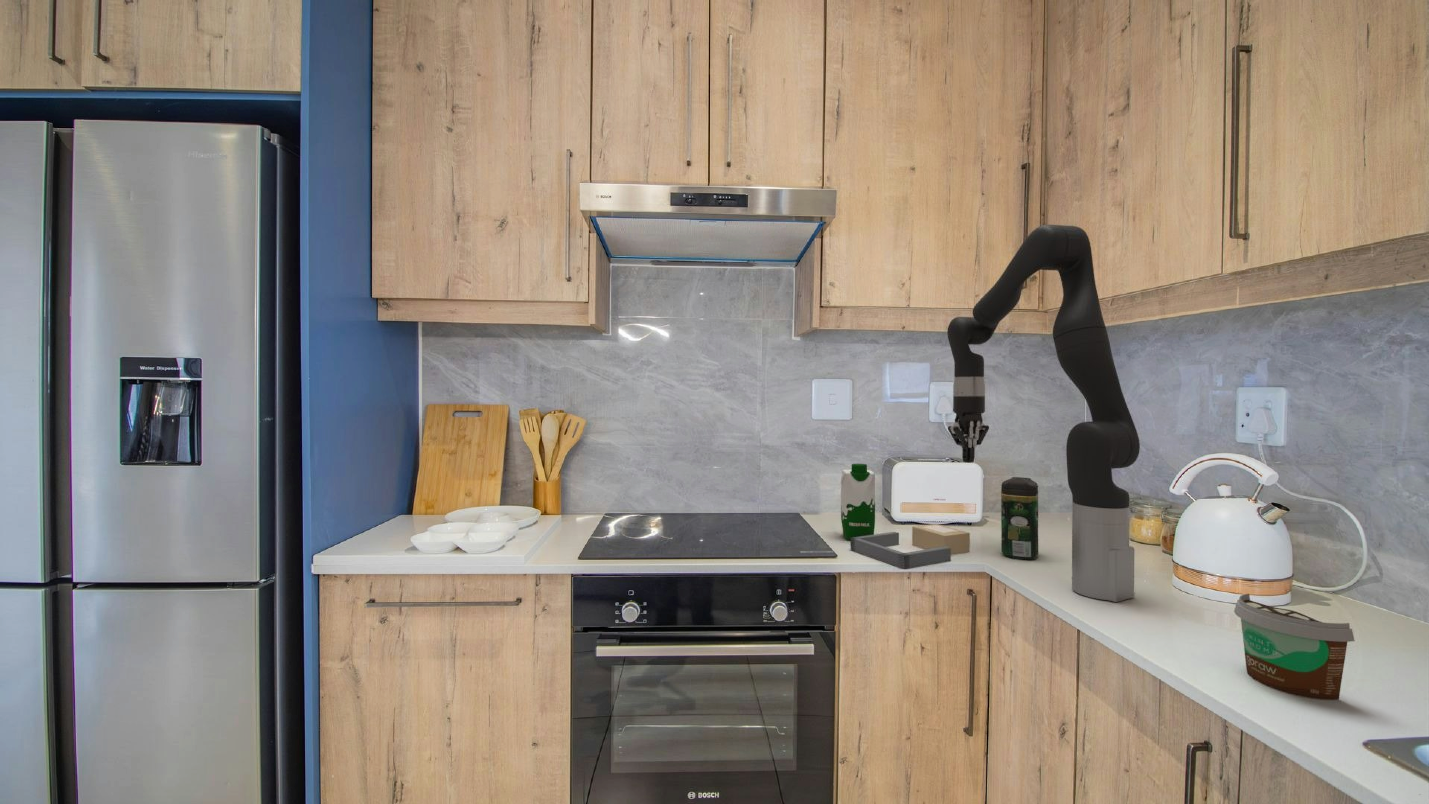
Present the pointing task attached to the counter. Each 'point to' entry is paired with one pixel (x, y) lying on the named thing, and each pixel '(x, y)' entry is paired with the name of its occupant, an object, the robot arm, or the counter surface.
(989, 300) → the robot arm
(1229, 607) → the counter surface
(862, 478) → the milk carton
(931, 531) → the carton
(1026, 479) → the coffee jar
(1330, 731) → the counter surface
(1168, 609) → the counter surface
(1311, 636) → the food container
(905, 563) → the grey u-shaped bracket
